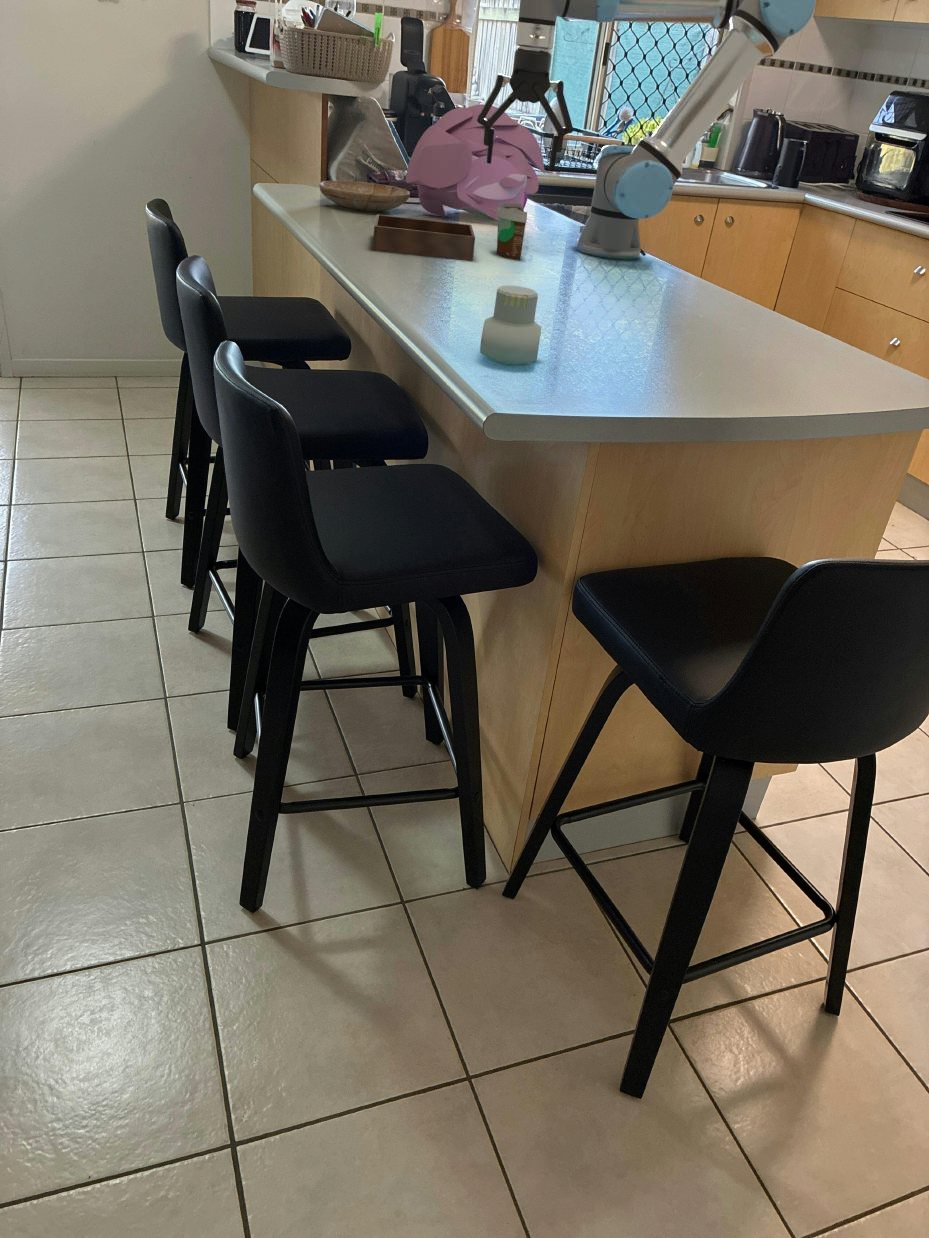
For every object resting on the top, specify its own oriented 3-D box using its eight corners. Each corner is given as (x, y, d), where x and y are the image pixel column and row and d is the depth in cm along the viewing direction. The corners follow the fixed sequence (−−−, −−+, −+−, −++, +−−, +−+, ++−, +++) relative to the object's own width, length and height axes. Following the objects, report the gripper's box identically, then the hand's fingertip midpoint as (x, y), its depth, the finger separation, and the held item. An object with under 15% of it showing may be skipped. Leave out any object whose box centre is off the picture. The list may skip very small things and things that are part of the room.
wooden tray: (469, 247, 207) (471, 224, 204) (472, 261, 194) (475, 237, 192) (375, 237, 205) (376, 214, 202) (372, 250, 192) (374, 226, 189)
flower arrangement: (521, 235, 257) (540, 124, 248) (545, 234, 236) (568, 112, 227) (399, 211, 248) (415, 95, 239) (413, 206, 227) (431, 79, 218)
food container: (489, 248, 209) (495, 200, 204) (515, 250, 210) (522, 203, 204) (493, 258, 199) (499, 209, 193) (520, 261, 199) (527, 212, 194)
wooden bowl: (425, 212, 242) (427, 192, 239) (371, 219, 225) (372, 197, 222) (357, 197, 251) (357, 177, 249) (299, 202, 234) (300, 181, 231)
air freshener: (483, 346, 139) (491, 278, 134) (537, 354, 139) (547, 286, 134) (477, 366, 130) (485, 294, 125) (534, 374, 130) (545, 302, 124)
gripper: (473, 43, 179) (463, 162, 191) (597, 57, 182) (580, 174, 193) (471, 42, 186) (461, 158, 197) (591, 56, 188) (574, 169, 199)
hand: (520, 166), depth 195 cm, fingers open, 13 cm apart
